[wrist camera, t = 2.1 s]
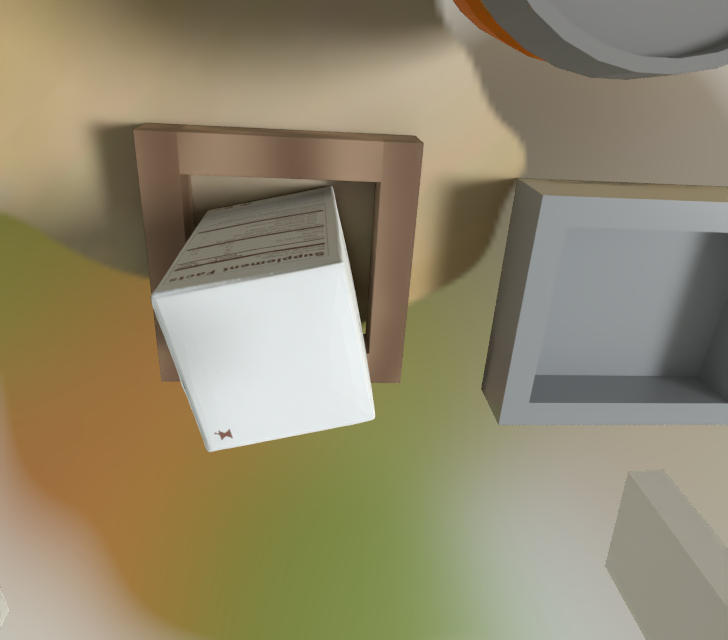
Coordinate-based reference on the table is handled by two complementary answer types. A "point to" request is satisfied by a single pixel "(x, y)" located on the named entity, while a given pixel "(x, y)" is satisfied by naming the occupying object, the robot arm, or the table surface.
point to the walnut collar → (294, 161)
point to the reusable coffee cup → (610, 34)
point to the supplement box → (267, 322)
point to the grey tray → (612, 306)
